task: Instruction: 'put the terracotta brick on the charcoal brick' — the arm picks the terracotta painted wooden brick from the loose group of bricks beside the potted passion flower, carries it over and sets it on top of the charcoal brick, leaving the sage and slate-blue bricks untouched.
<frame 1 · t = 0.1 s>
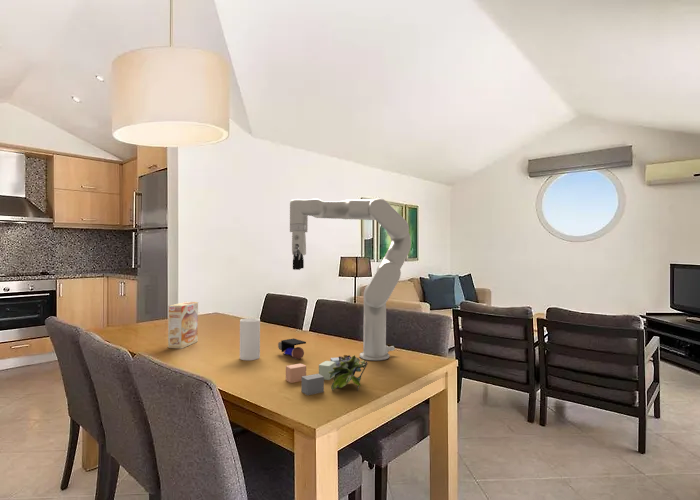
hand: (298, 268, 181), 37 cm above the table, tool pointing down, fingers open, 9 cm apart
sage brick: (327, 377, 153), on the table
terracotta brick: (295, 380, 149), on the table
cup: (249, 358, 178), on the table
coffeecake box: (183, 345, 201), on the table
charcoal brick: (312, 392, 137), on the table
slate-blue brick: (339, 372, 159), on the table
figurine character: (291, 356, 181), on the table
passion flower: (349, 387, 142), on the table
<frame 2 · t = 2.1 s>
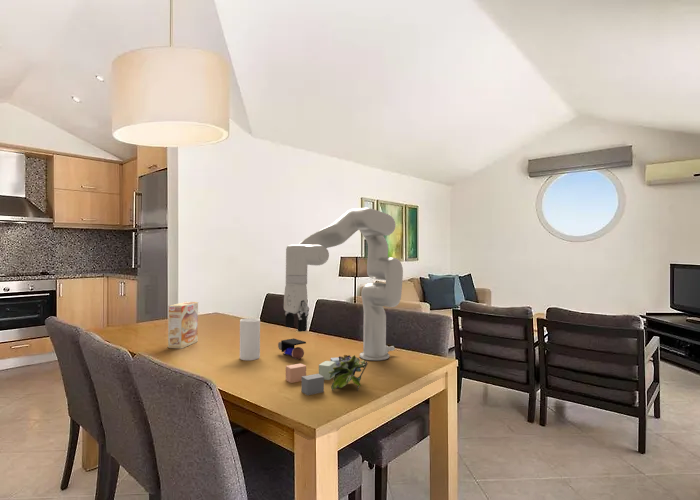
hand: (295, 328, 149), 18 cm above the table, tool pointing down, fingers open, 9 cm apart
nothing on the table moved.
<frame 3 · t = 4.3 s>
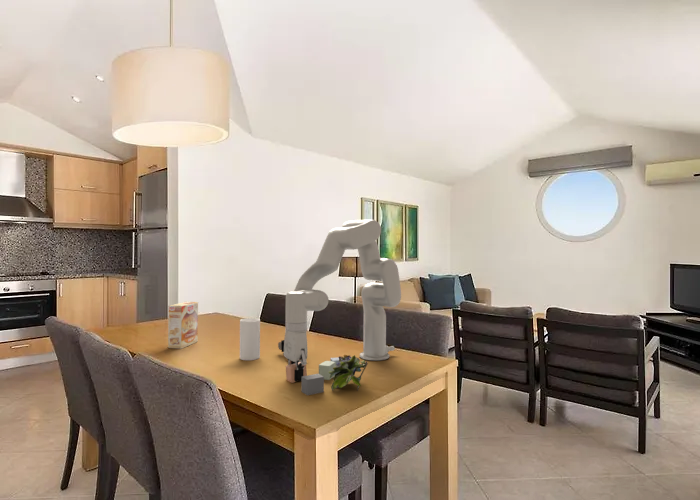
hand: (295, 378, 149), 0 cm above the table, tool pointing down, fingers closed on terracotta brick, 3 cm apart
terracotta brick: (296, 379, 150), on the table, touching gripper
everything else where it was.
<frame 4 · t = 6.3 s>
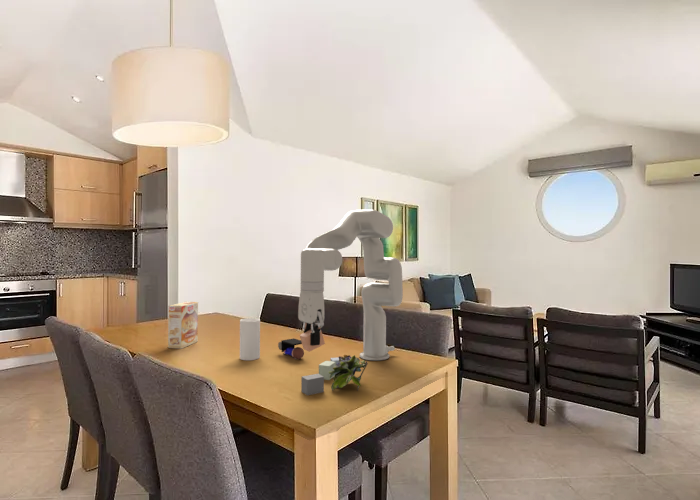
hand: (311, 343, 138), 16 cm above the table, tool pointing down, fingers closed on terracotta brick, 3 cm apart
terracotta brick: (314, 346, 138), point 14 cm above the table, tilted 18°, touching gripper
everything else where it was.
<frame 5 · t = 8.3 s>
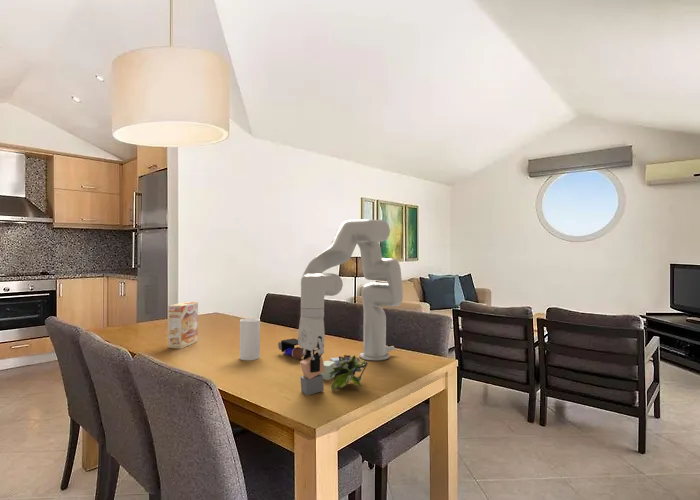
hand: (311, 369, 137), 7 cm above the table, tool pointing down, fingers closed on terracotta brick, 4 cm apart
terracotta brick: (314, 373, 137), point 6 cm above the table, tilted 17°, touching charcoal brick, gripper
charcoal brick: (312, 391, 137), on the table, touching terracotta brick
everything else where it was.
when the fingers open (7 cm above the table, at t = 8.3 s): terracotta brick moves 1 cm, resting on charcoal brick.
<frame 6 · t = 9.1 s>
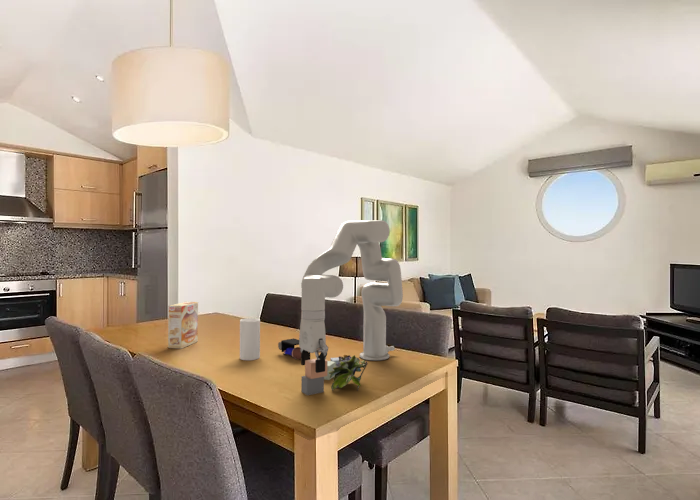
hand: (312, 368, 137), 8 cm above the table, tool pointing down, fingers open, 9 cm apart
terracotta brick: (316, 375, 138), point 5 cm above the table, touching charcoal brick
everything else where it was.
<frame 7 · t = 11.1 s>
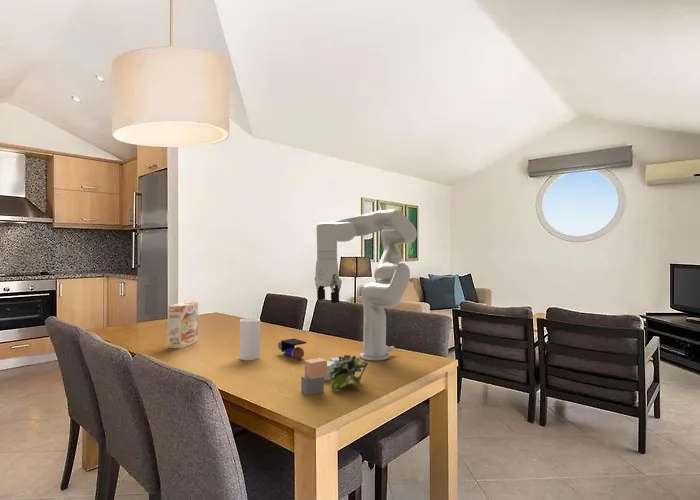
hand: (328, 301, 159), 26 cm above the table, tool pointing down, fingers open, 9 cm apart
nothing on the table moved.
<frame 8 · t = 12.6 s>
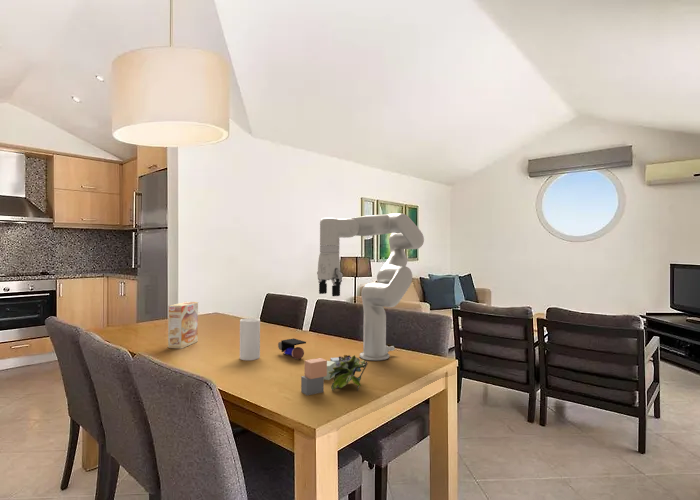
hand: (329, 294, 164), 28 cm above the table, tool pointing down, fingers open, 9 cm apart
nothing on the table moved.
at the end: terracotta brick 1.1 cm off-centre on the charcoal brick, point 5.0 cm above the charcoal brick's base; terracotta brick tilted 0°; sage brick moved 0.1 cm from its start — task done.
